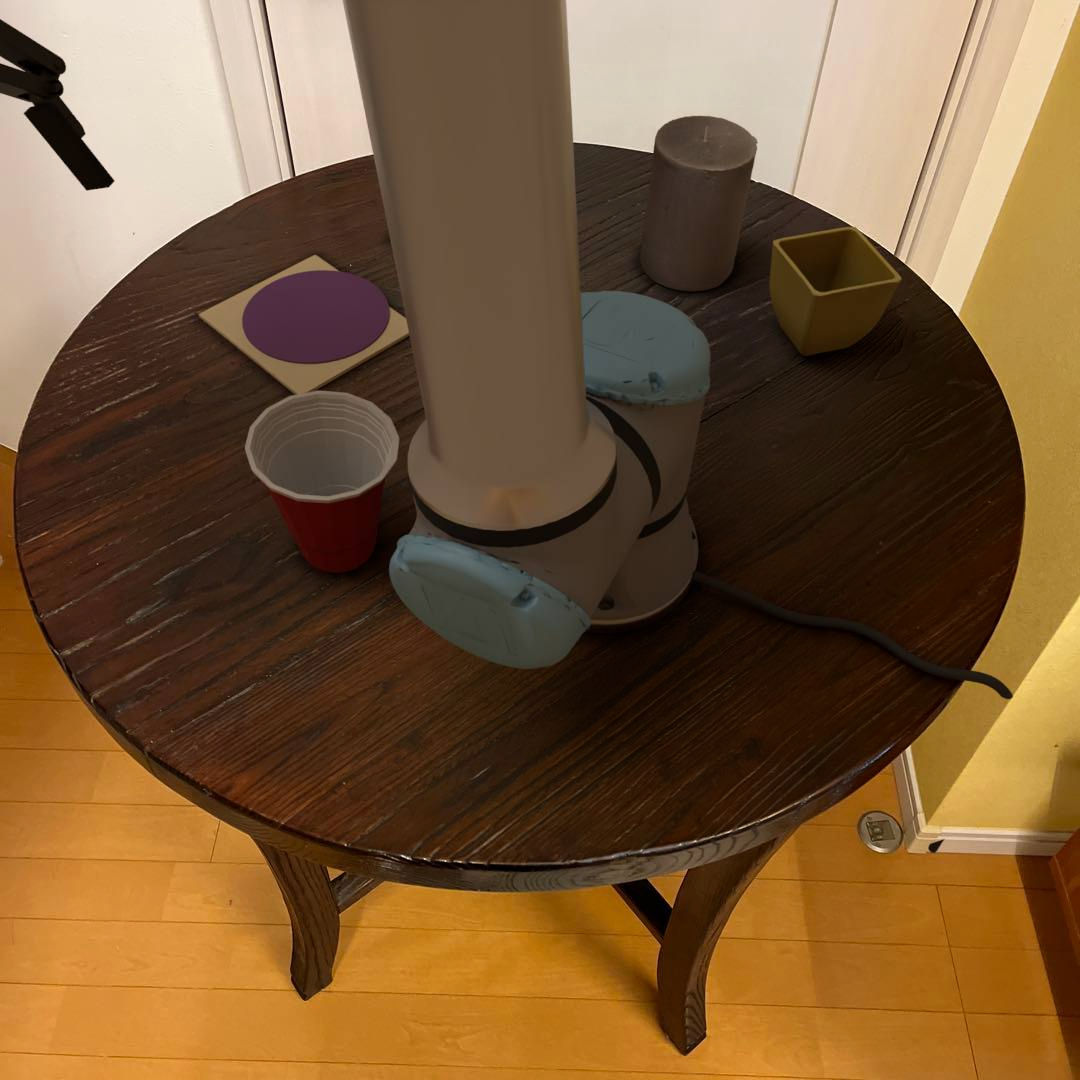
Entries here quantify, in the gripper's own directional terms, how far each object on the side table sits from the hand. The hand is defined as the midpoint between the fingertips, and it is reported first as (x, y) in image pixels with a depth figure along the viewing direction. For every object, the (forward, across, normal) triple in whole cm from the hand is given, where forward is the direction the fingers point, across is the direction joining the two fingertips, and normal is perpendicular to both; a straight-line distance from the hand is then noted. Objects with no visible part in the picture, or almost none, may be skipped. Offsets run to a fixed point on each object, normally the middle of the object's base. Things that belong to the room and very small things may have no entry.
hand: (45, 247), depth 75 cm
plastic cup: (+27, +5, +13) cm, 30 cm away
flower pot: (+44, -36, +37) cm, 68 cm away
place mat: (+24, -18, -4) cm, 30 cm away
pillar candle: (+39, -42, +23) cm, 61 cm away
